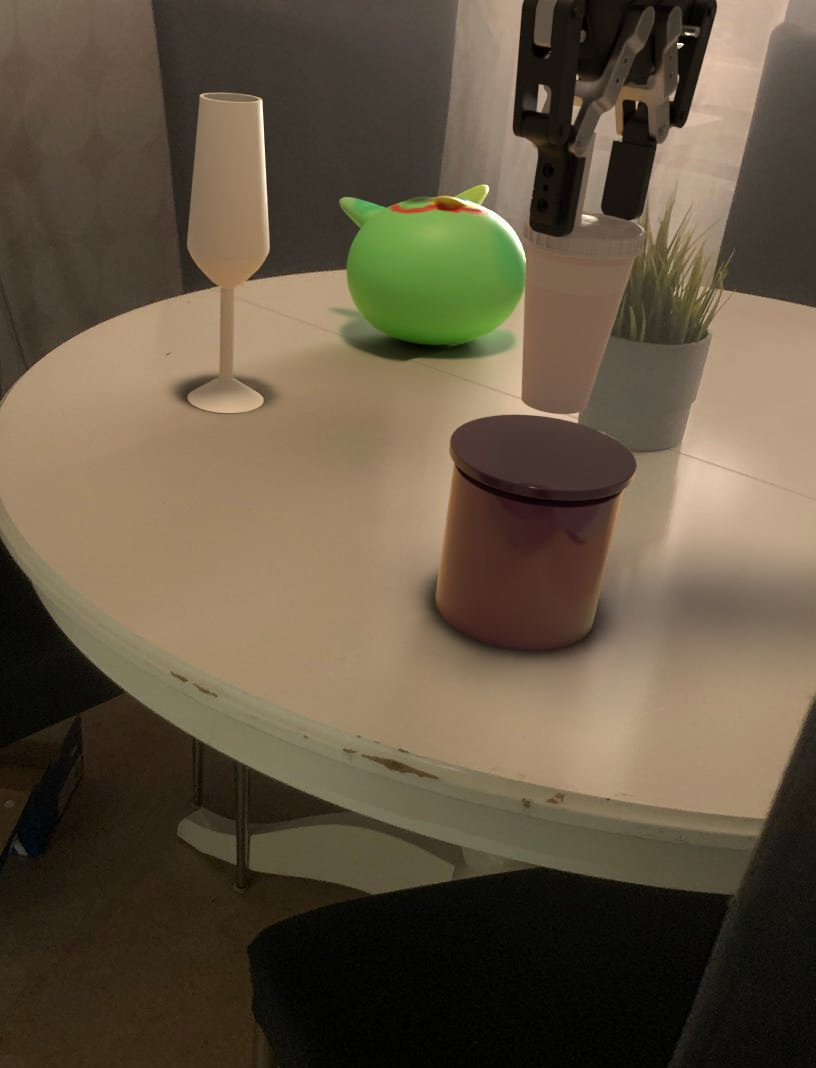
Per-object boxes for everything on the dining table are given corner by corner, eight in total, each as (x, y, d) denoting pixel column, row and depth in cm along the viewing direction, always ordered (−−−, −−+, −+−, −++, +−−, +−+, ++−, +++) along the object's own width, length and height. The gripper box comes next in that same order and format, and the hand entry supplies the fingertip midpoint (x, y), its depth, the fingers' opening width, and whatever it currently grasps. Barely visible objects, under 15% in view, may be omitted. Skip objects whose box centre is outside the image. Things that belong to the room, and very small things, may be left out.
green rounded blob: (363, 368, 107) (377, 207, 99) (323, 313, 120) (333, 168, 112) (537, 365, 111) (565, 211, 103) (480, 312, 125) (500, 172, 116)
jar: (494, 554, 77) (520, 401, 71) (630, 618, 71) (671, 456, 65) (393, 608, 70) (412, 443, 64) (534, 683, 64) (570, 509, 58)
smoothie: (522, 372, 67) (562, 117, 59) (625, 398, 64) (682, 135, 57) (479, 405, 62) (517, 132, 54) (589, 433, 60) (645, 152, 52)
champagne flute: (240, 380, 102) (247, 90, 89) (278, 406, 97) (291, 104, 84) (173, 391, 98) (171, 91, 85) (209, 418, 94) (212, 105, 81)
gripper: (652, -190, 42) (571, 262, 51) (809, -156, 51) (716, 223, 60) (492, -193, 46) (444, 227, 55) (664, -160, 55) (598, 195, 64)
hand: (586, 223), depth 58 cm, fingers closed on smoothie, 6 cm apart
